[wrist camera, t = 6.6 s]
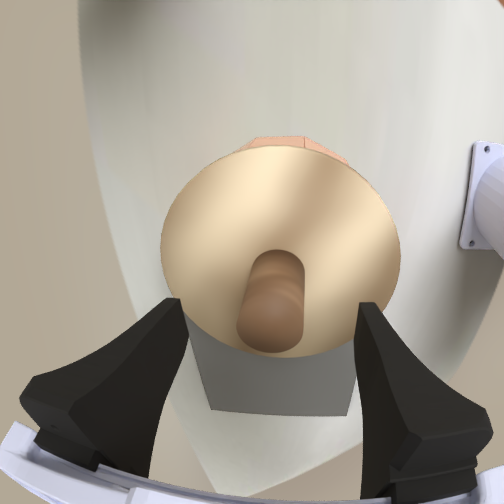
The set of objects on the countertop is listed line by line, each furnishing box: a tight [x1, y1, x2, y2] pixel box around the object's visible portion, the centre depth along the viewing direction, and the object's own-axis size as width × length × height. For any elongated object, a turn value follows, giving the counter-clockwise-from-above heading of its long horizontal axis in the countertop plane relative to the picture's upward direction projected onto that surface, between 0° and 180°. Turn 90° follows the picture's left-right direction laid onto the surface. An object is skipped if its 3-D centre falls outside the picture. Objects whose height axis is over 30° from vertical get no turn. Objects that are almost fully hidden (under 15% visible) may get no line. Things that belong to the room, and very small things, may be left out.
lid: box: [160, 145, 401, 358], centre depth 16 cm, size 13×13×5 cm
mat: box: [183, 311, 357, 416], centre depth 29 cm, size 15×15×1 cm
